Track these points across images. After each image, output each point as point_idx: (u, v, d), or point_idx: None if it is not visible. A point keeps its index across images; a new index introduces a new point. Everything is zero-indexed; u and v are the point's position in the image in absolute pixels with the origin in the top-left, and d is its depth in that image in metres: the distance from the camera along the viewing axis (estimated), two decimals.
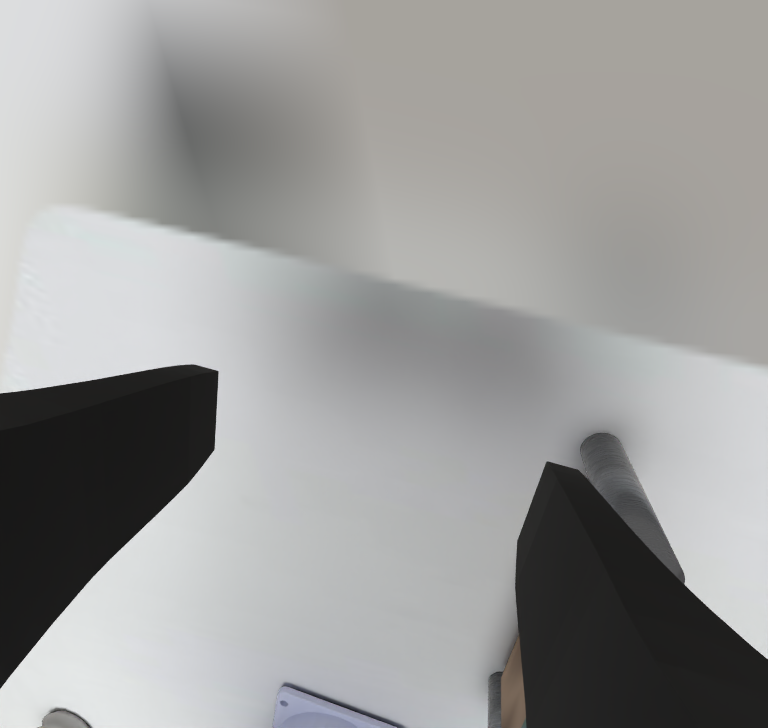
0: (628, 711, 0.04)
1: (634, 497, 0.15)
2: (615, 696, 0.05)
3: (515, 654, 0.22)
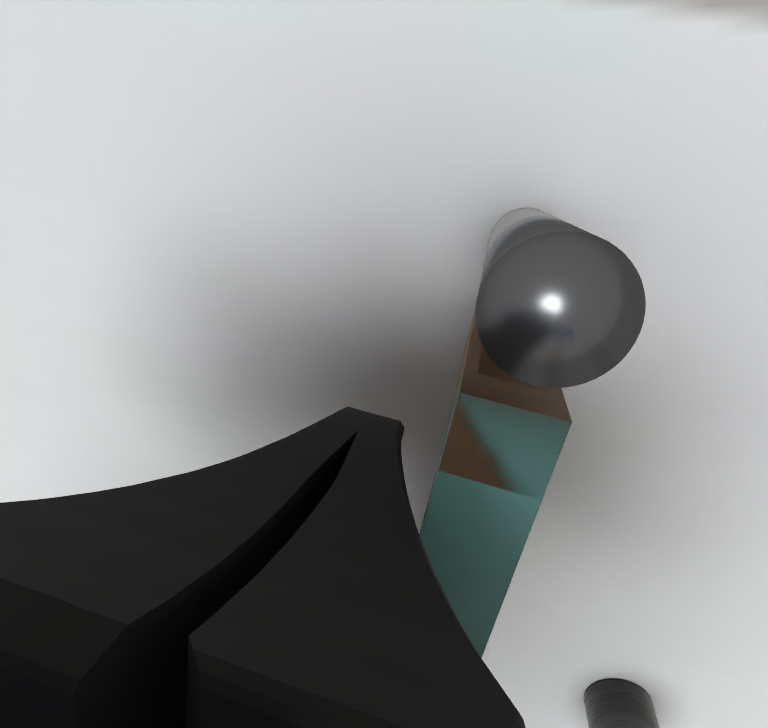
0: None
1: (548, 218, 0.07)
2: None
3: None
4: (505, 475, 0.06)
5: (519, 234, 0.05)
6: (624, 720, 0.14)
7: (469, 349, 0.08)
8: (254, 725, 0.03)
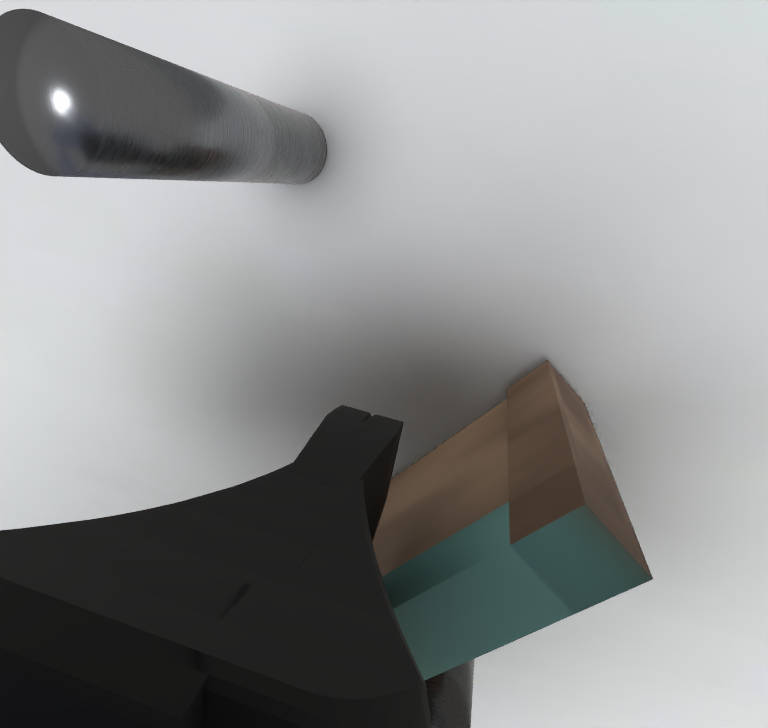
0: None
1: None
2: None
3: None
4: (562, 581, 0.07)
5: None
6: None
7: (568, 437, 0.08)
8: None
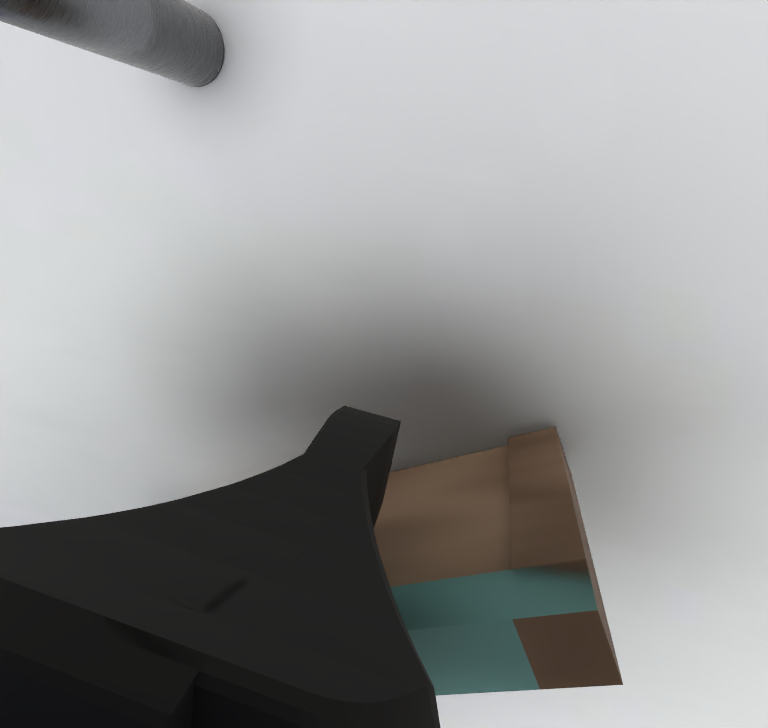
0: None
1: None
2: None
3: None
4: (543, 662, 0.07)
5: None
6: None
7: (578, 527, 0.08)
8: None
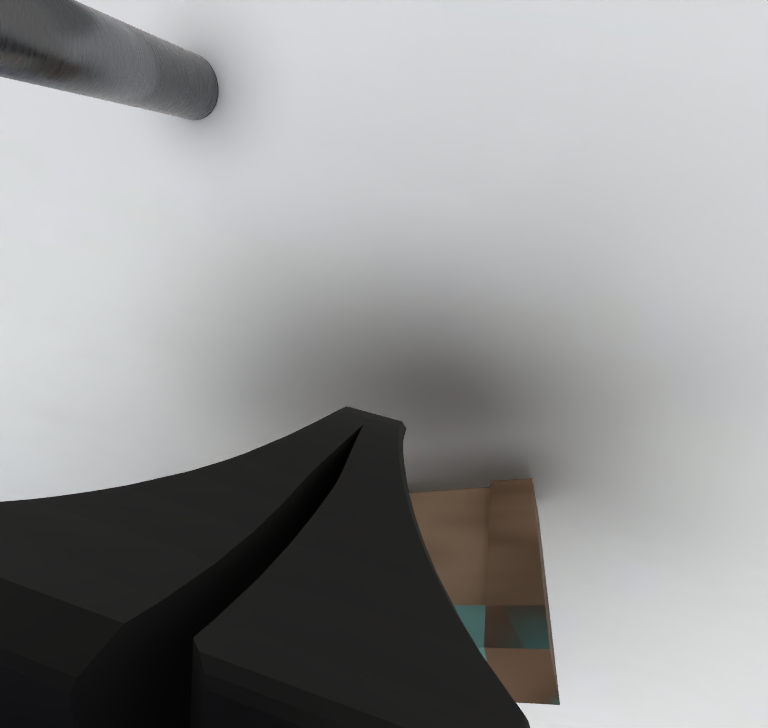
0: None
1: None
2: None
3: None
4: (502, 681, 0.09)
5: None
6: None
7: (542, 576, 0.10)
8: (259, 727, 0.03)
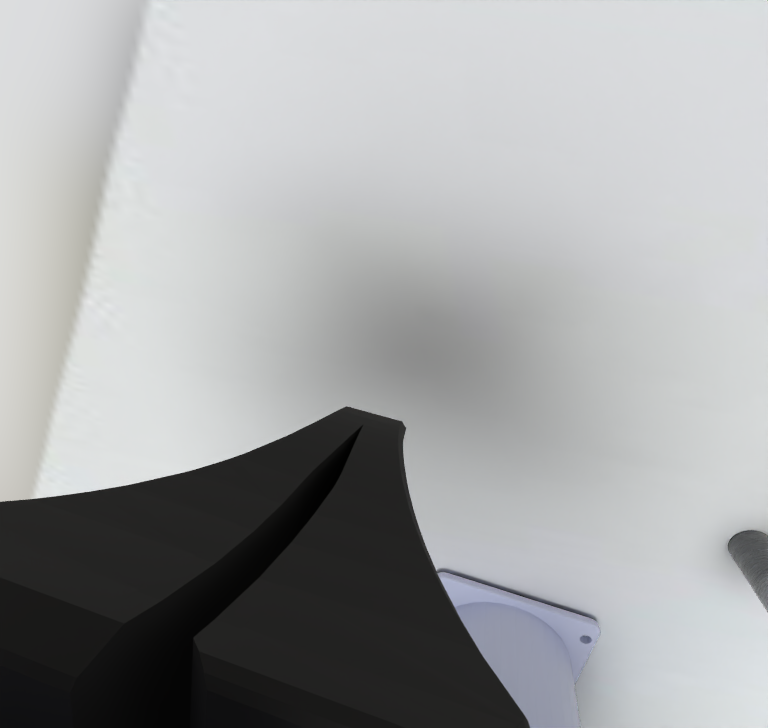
0: None
1: None
2: None
3: None
4: None
5: None
6: None
7: None
8: (260, 727, 0.03)
